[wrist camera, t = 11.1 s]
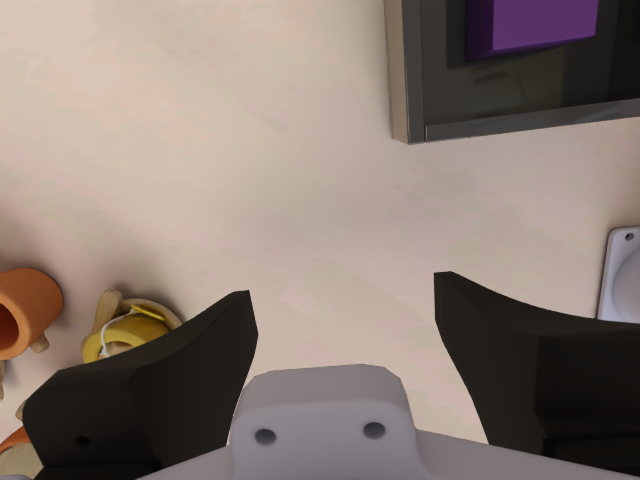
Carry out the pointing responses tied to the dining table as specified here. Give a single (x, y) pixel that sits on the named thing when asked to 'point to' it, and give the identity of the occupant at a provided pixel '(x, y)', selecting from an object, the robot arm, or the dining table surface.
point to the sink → (504, 75)
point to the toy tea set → (28, 330)
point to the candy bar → (525, 26)
